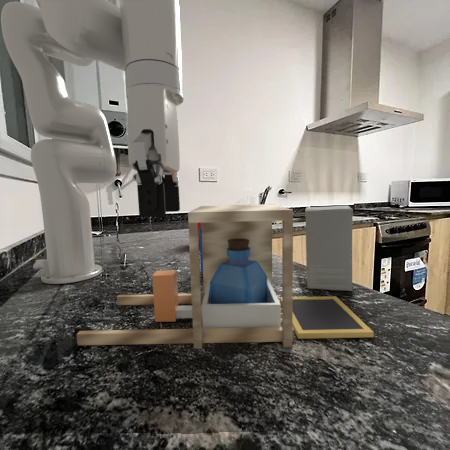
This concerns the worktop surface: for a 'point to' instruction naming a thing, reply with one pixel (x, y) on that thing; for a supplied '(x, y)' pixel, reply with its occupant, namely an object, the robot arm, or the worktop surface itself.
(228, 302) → the perfume bottle
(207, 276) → the tunnel
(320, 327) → the yellow framed grey pad
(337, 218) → the skincare box
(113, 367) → the worktop surface
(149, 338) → the track
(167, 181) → the robot arm
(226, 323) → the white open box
